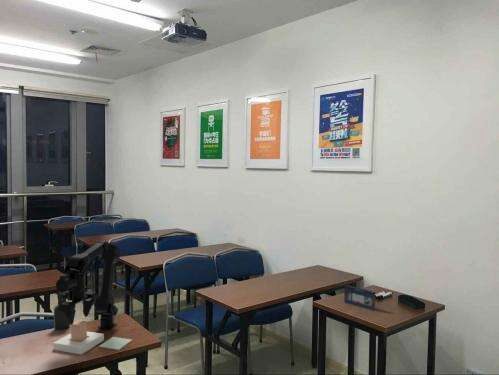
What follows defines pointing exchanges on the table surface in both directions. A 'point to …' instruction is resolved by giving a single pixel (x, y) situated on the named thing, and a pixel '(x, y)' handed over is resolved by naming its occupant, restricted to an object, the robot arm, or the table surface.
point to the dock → (78, 343)
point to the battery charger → (60, 319)
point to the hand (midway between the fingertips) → (78, 320)
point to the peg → (79, 331)
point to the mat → (115, 343)
